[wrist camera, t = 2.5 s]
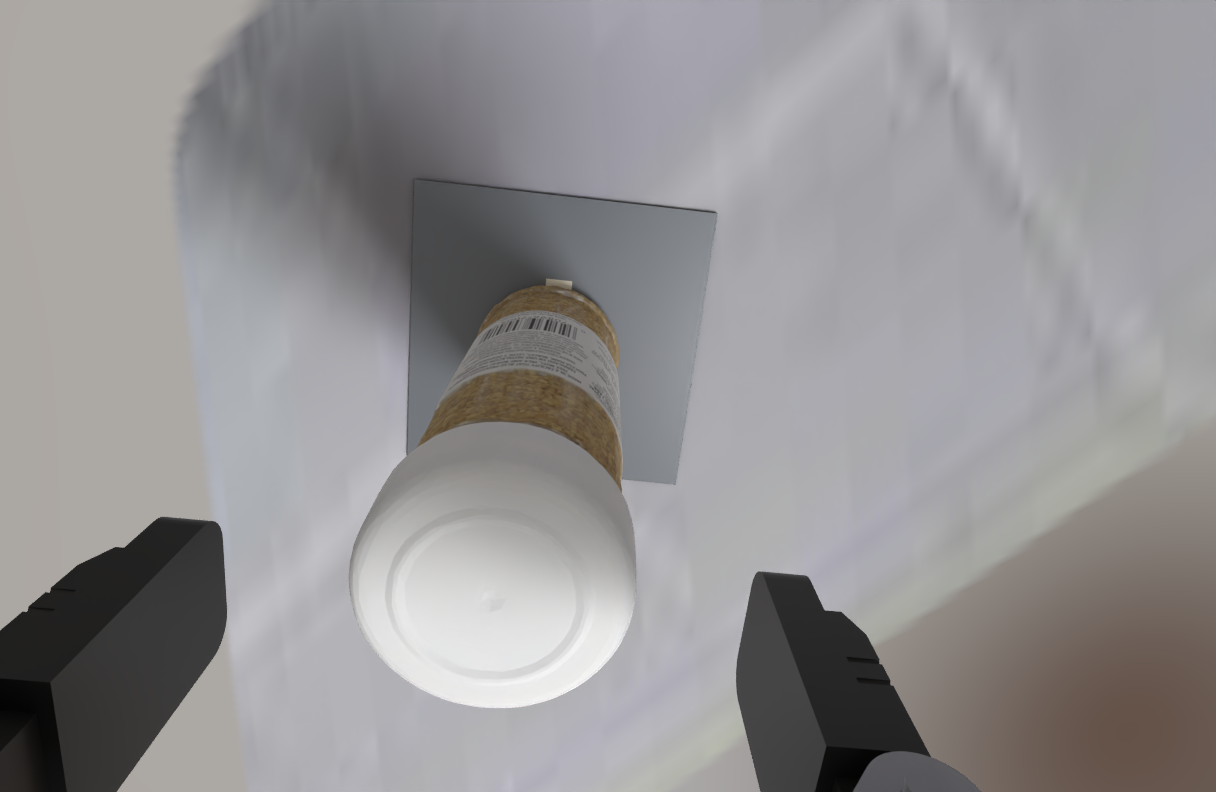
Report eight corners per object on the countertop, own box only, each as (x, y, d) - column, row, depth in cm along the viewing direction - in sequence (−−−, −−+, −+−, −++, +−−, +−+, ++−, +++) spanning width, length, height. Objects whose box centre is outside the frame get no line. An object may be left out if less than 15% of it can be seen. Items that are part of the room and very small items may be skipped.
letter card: (414, 179, 23) (413, 179, 23) (716, 213, 23) (717, 213, 23) (408, 456, 26) (406, 458, 26) (675, 483, 26) (675, 485, 26)
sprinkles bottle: (465, 401, 25) (322, 690, 12) (492, 264, 24) (360, 437, 11) (603, 432, 26) (598, 744, 13) (638, 300, 24) (673, 505, 11)
